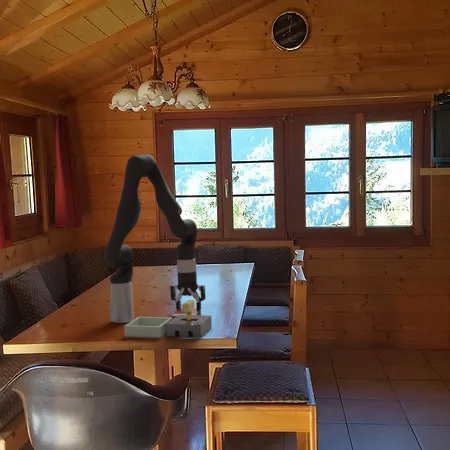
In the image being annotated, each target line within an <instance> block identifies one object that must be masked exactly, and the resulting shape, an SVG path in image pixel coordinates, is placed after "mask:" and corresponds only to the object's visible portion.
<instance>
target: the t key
mask: <svg viewBox="0 0 450 450" xmlns="http://www.w3.org/2000/svg"><path fill="white" fill-rule="evenodd" d="M195 301H196V300H195V299H188V300H187V301H185V302H184V303H183V304H181V309H182V312H186V320H187V321H192V309H194V308H196V307H195V304H196V302H195ZM191 333H193V331H191Z"/></svg>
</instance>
